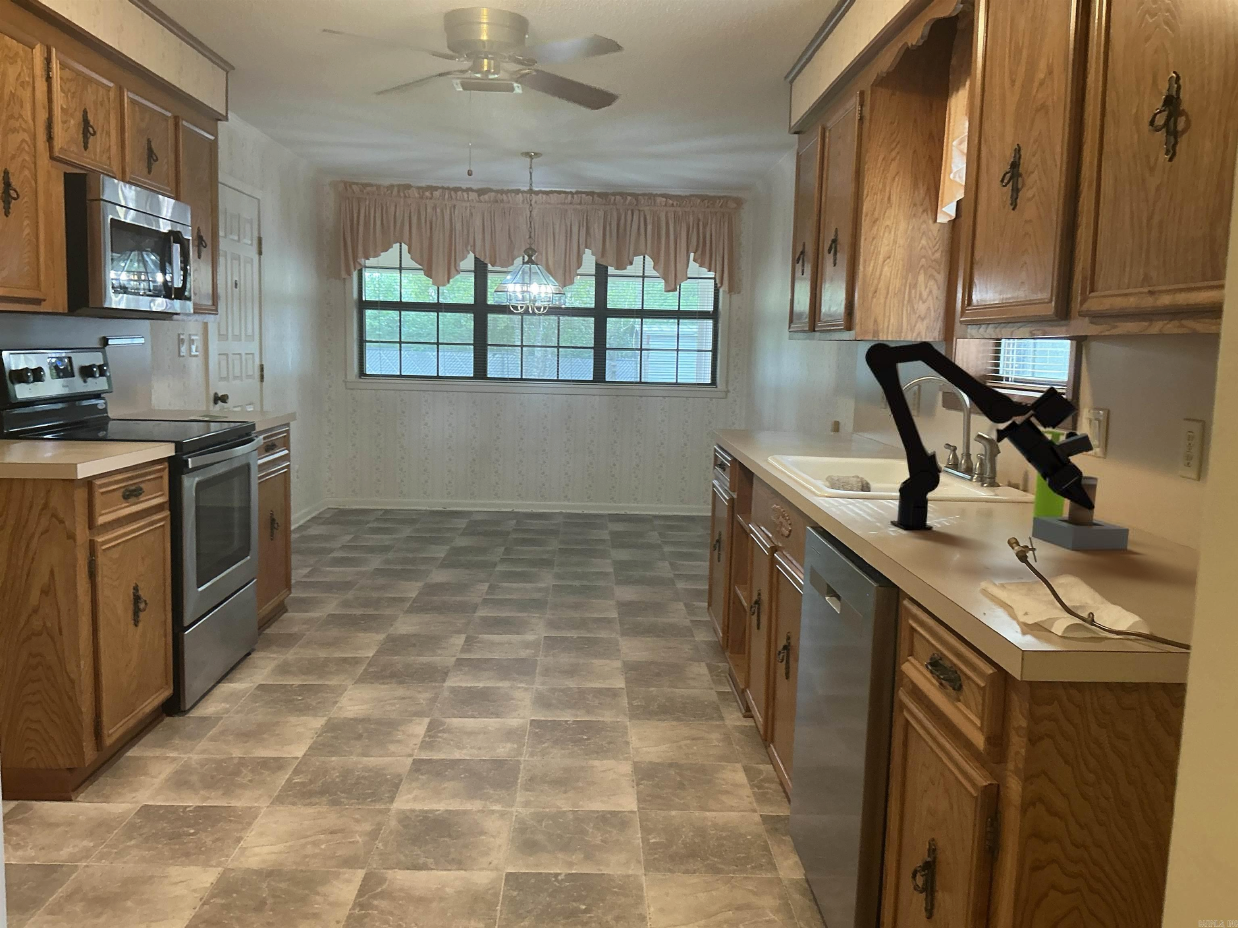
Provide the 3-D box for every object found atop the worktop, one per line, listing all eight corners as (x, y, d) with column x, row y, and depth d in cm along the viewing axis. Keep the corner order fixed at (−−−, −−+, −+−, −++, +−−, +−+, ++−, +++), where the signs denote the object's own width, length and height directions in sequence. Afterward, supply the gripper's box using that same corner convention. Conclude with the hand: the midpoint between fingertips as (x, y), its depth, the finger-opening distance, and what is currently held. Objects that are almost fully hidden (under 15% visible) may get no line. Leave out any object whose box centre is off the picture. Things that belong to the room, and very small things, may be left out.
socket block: (1031, 536, 187) (1033, 516, 186) (1084, 535, 189) (1086, 516, 188) (1071, 549, 175) (1073, 529, 174) (1126, 549, 177) (1129, 528, 177)
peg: (1061, 541, 182) (1067, 476, 180) (1071, 539, 185) (1078, 474, 183) (1084, 546, 179) (1091, 479, 177) (1094, 543, 182) (1102, 478, 180)
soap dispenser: (1038, 518, 207) (1047, 429, 204) (1067, 523, 201) (1077, 432, 199) (1022, 520, 204) (1031, 429, 201) (1051, 526, 198) (1061, 433, 196)
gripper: (1074, 421, 171) (1134, 485, 169) (1063, 415, 189) (1117, 472, 187) (1024, 460, 175) (1082, 523, 173) (1017, 450, 192) (1070, 507, 190)
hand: (1089, 505), depth 180 cm, fingers open, 8 cm apart
